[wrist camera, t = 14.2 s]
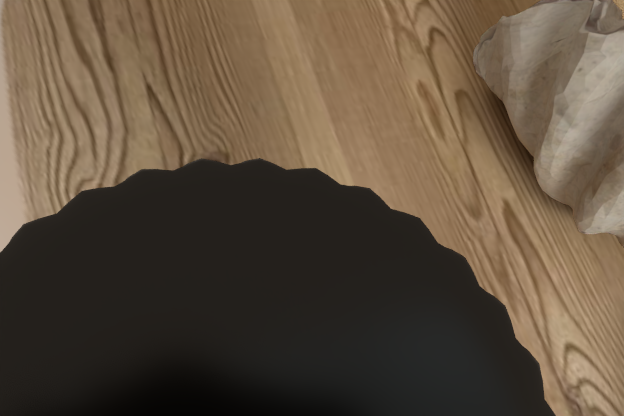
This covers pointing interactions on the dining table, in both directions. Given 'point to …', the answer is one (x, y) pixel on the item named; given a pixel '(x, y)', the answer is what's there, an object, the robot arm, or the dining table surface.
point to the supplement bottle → (249, 305)
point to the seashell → (565, 101)
